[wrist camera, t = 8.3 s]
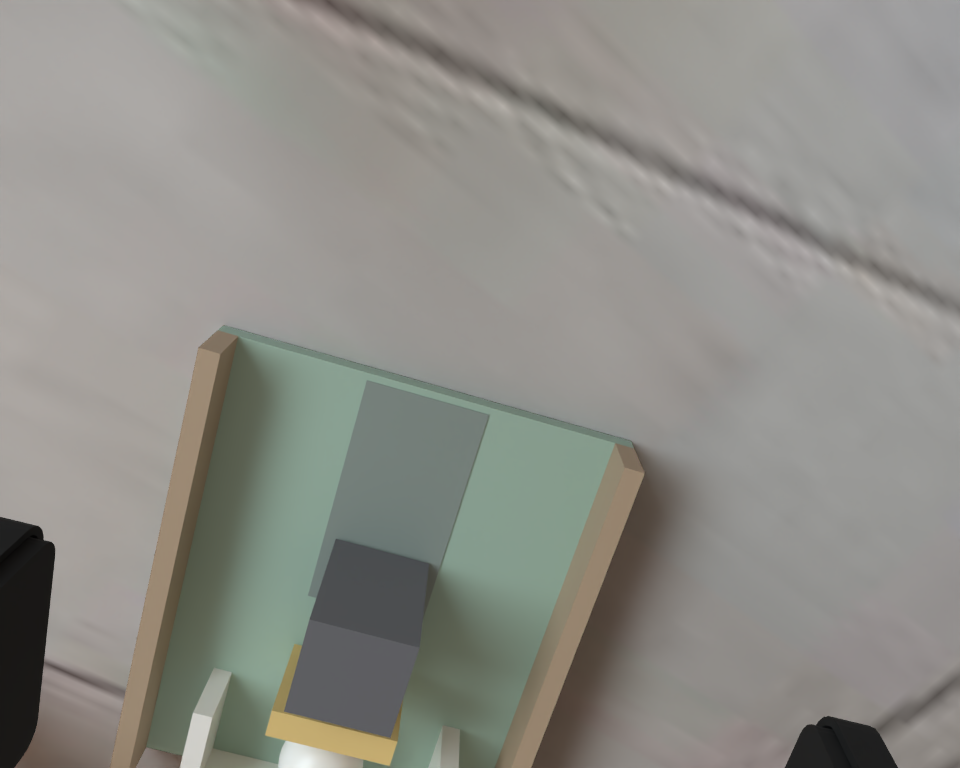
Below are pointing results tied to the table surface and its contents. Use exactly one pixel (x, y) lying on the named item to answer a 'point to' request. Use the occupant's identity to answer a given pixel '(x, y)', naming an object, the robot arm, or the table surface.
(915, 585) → the table surface
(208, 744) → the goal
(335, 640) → the grey cube yellow base
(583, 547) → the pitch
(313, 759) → the ball
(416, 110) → the table surface
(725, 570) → the table surface
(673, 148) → the table surface
